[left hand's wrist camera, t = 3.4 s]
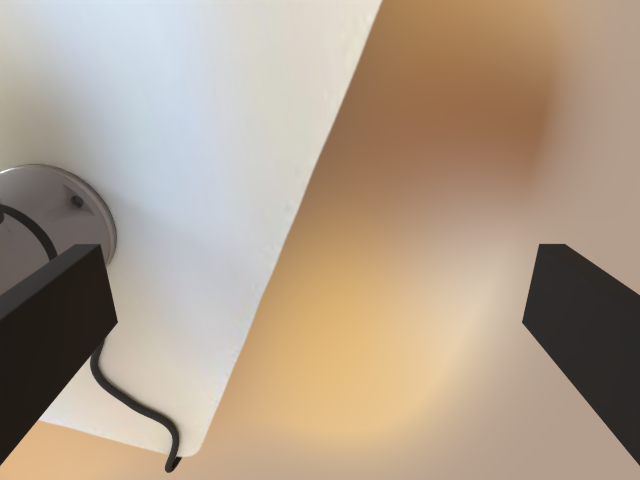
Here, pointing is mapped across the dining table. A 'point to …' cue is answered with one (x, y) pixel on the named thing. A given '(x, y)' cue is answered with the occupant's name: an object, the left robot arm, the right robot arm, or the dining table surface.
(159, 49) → the dining table surface
